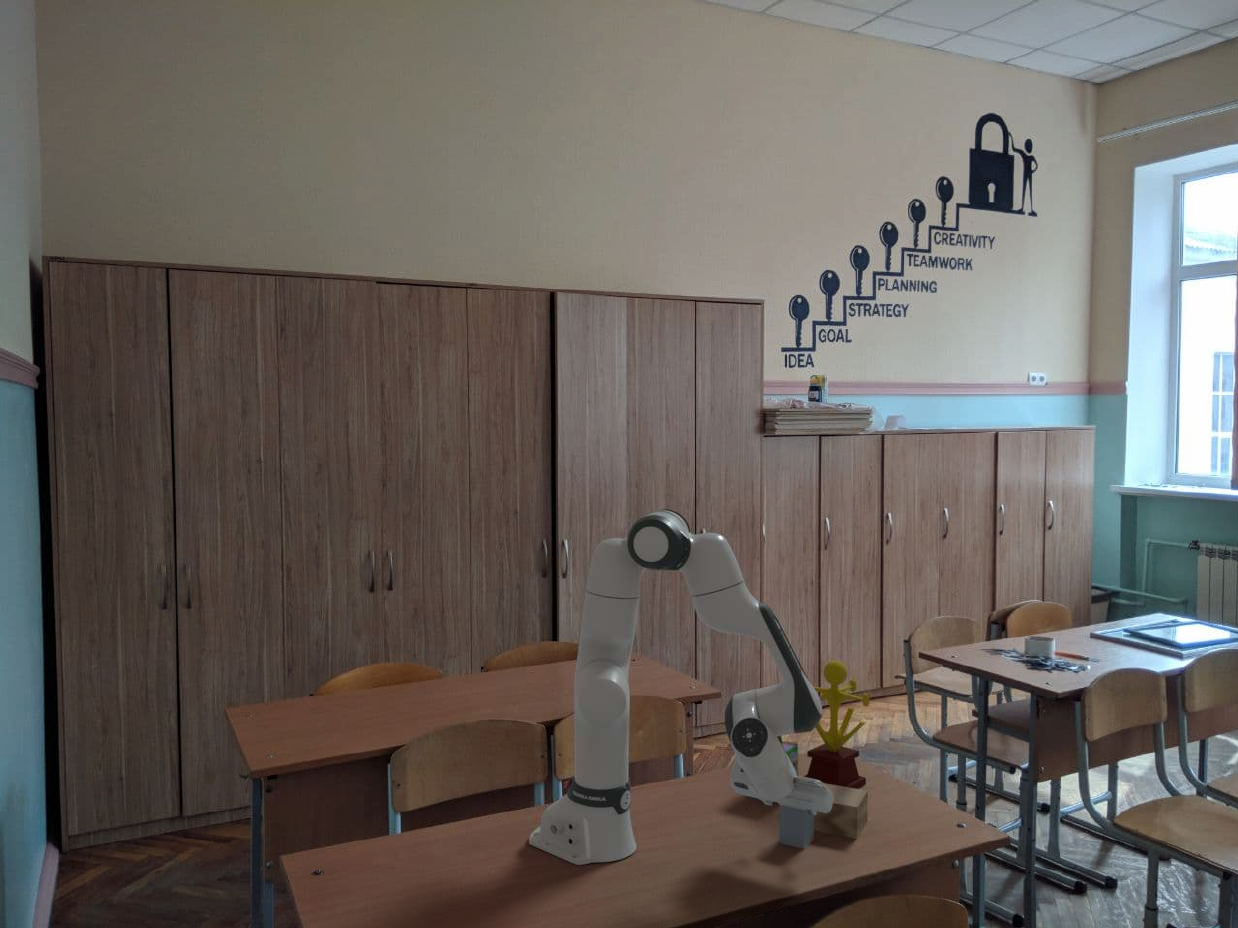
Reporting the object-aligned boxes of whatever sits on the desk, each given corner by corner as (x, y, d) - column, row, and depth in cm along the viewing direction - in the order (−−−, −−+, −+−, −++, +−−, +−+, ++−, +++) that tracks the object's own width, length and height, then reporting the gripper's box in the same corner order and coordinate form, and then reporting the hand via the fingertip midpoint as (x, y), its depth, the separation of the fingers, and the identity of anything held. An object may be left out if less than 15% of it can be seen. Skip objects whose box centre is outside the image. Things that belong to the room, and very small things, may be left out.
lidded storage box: (778, 842, 204) (778, 800, 204) (788, 832, 209) (789, 791, 209) (804, 849, 201) (805, 806, 201) (814, 838, 206) (815, 796, 206)
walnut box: (810, 830, 210) (810, 798, 210) (822, 813, 219) (822, 782, 219) (856, 839, 206) (857, 807, 206) (867, 821, 215) (867, 790, 215)
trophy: (793, 772, 244) (794, 653, 242) (855, 772, 244) (857, 653, 242) (805, 795, 229) (806, 668, 228) (871, 795, 229) (873, 668, 228)
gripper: (827, 769, 189) (844, 802, 197) (730, 751, 199) (750, 782, 208) (819, 800, 185) (836, 832, 194) (721, 779, 196) (741, 810, 205)
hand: (791, 806), depth 201 cm, fingers open, 8 cm apart
